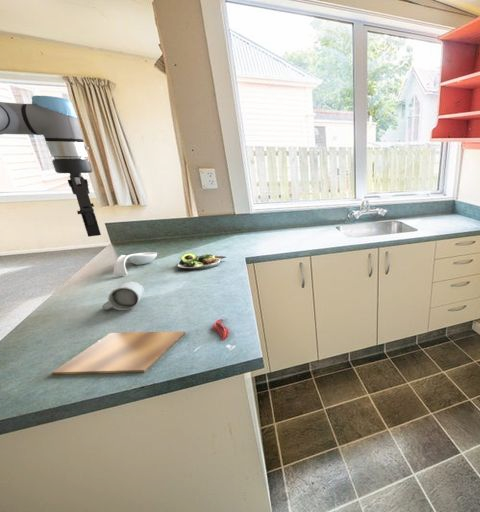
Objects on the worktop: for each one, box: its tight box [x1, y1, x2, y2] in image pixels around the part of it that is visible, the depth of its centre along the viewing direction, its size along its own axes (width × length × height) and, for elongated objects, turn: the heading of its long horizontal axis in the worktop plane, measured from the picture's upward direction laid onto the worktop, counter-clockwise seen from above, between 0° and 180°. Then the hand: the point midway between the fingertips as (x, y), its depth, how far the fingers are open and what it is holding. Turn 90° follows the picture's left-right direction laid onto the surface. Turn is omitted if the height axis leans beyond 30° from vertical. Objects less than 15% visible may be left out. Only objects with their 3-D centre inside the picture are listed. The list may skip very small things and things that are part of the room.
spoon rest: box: [113, 251, 158, 277], centre depth 131 cm, size 24×12×7 cm, turn 14°
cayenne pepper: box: [211, 318, 230, 341], centre depth 84 cm, size 12×5×2 cm, turn 22°
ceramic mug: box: [101, 281, 145, 311], centre depth 96 cm, size 11×8×8 cm
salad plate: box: [177, 252, 228, 272], centre depth 136 cm, size 19×18×5 cm
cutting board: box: [51, 330, 186, 376], centre depth 74 cm, size 20×16×1 cm
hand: (93, 231), depth 90 cm, fingers open, 13 cm apart
